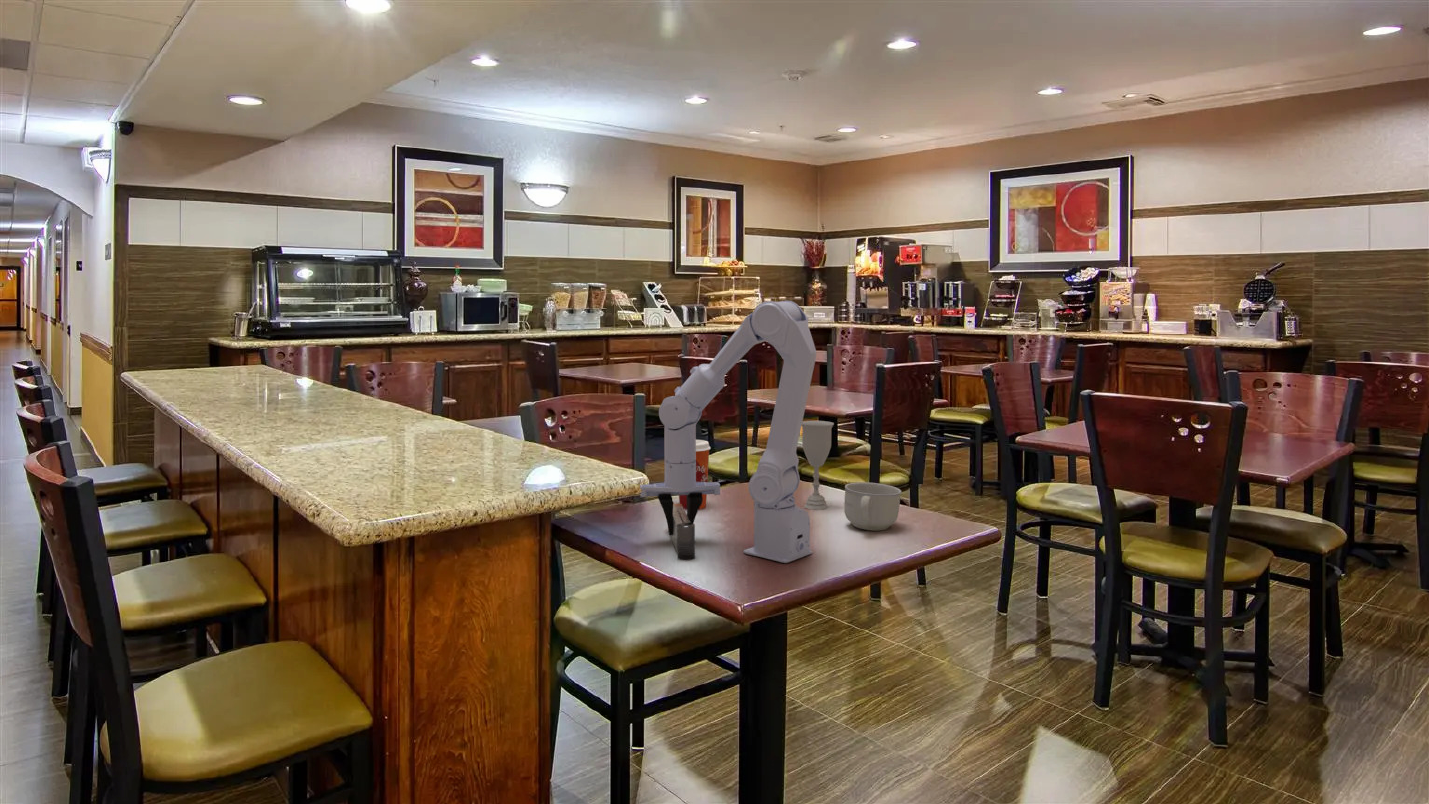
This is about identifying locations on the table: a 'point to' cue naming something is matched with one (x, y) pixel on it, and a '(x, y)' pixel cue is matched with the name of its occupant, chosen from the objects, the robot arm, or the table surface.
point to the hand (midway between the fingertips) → (680, 533)
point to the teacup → (871, 505)
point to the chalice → (816, 455)
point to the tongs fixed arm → (685, 536)
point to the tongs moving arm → (675, 526)
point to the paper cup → (699, 469)
